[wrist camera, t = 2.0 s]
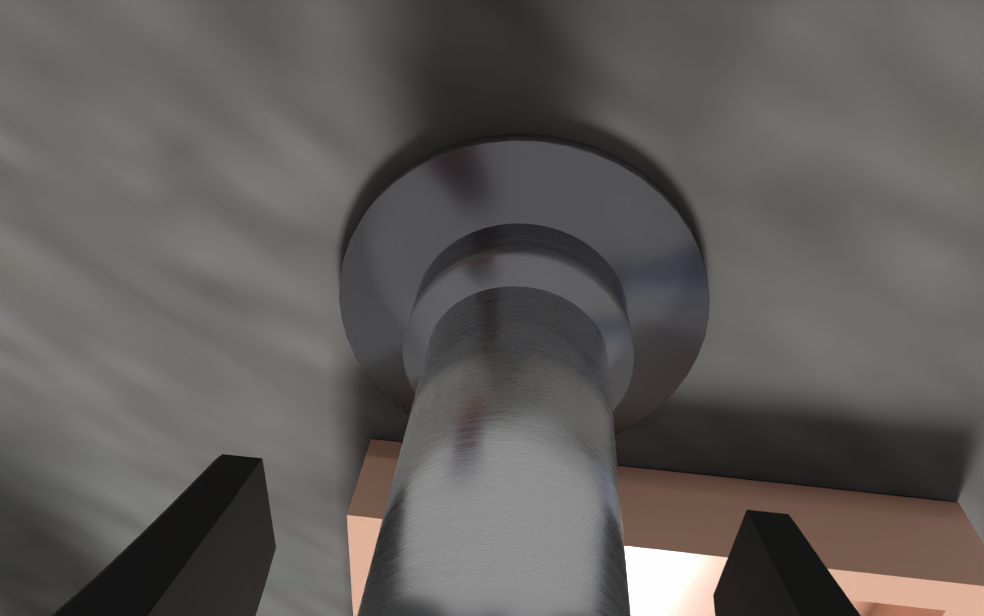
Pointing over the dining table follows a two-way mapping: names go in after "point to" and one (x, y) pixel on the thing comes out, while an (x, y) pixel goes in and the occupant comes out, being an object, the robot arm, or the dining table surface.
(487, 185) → the stud plate
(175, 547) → the robot arm
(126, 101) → the dining table surface
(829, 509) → the dish
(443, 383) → the grey cylinder
